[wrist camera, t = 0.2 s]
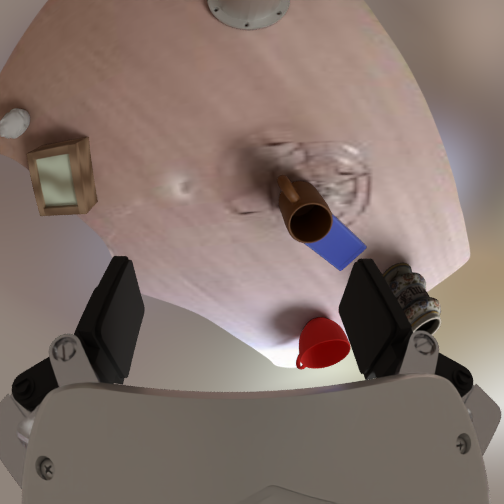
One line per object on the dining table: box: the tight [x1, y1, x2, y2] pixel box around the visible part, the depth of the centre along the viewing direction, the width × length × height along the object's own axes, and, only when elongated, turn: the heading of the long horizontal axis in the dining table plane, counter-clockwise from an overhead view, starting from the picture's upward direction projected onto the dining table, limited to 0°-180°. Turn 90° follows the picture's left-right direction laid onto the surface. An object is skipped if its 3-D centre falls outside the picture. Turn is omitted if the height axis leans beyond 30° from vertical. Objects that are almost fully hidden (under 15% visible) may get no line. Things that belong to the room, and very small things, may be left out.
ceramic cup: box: [296, 317, 350, 369], centre depth 67 cm, size 13×17×10 cm
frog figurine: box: [0, 108, 30, 139], centre depth 30 cm, size 6×7×7 cm
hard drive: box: [304, 214, 367, 271], centre depth 55 cm, size 2×8×12 cm
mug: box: [277, 175, 333, 243], centre depth 44 cm, size 12×8×9 cm, turn 36°
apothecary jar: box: [383, 263, 441, 335], centre depth 55 cm, size 12×12×18 cm
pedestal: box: [27, 137, 98, 216], centre depth 39 cm, size 13×12×5 cm
